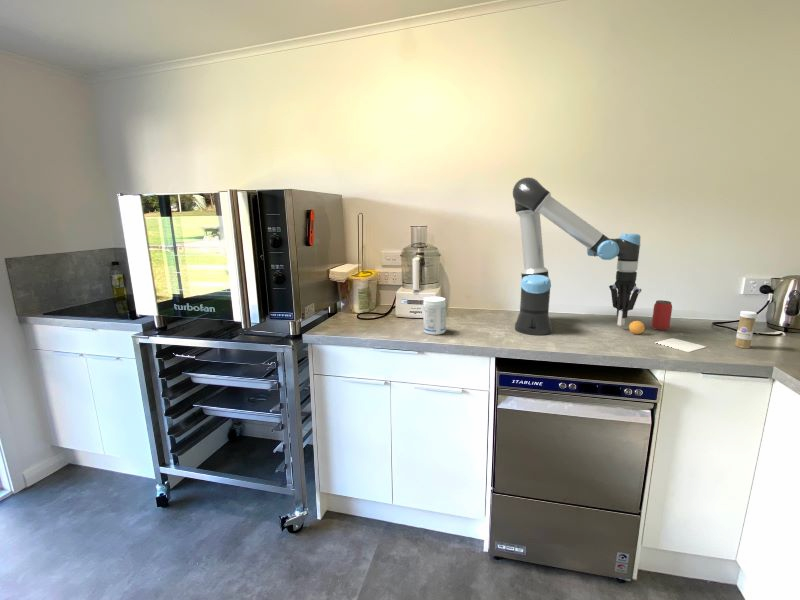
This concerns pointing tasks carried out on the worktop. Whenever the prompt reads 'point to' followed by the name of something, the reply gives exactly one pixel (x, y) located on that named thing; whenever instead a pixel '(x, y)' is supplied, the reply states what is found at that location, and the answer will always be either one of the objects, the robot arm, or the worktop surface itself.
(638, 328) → the ball
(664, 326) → the beer can
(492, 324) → the worktop surface
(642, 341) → the worktop surface
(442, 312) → the supplement tub
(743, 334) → the sprinkles bottle
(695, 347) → the spiral notepad
